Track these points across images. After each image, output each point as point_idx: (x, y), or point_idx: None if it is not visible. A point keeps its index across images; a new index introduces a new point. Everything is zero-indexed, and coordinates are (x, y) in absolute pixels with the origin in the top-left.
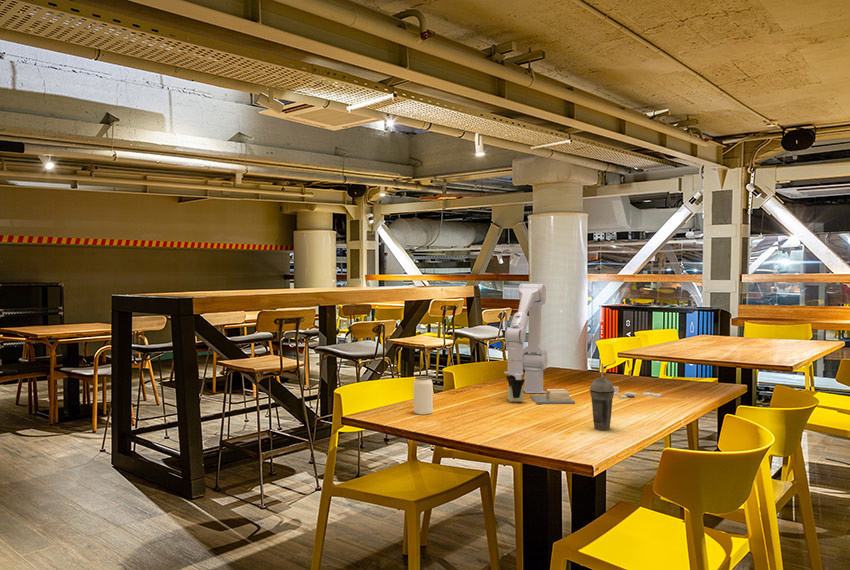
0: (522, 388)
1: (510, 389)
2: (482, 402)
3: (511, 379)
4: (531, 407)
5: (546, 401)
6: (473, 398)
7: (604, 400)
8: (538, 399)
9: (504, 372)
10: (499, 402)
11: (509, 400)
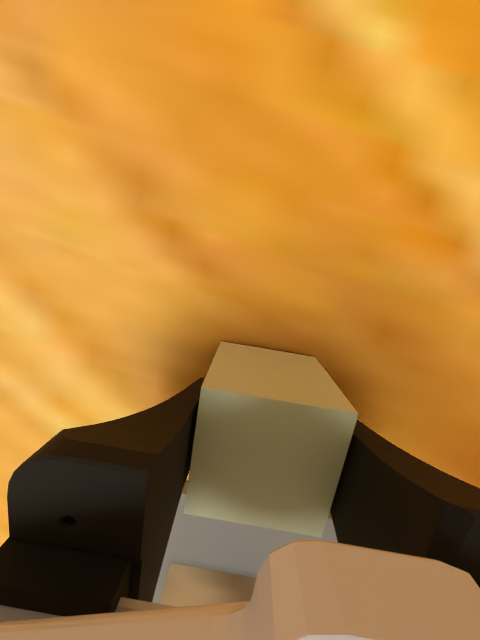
0: (185, 502)
1: (203, 387)
2: (260, 128)
3: (13, 478)
4: (54, 413)
5: None
6: (454, 90)
7: None
8: (211, 519)
9: (435, 608)
10: (234, 268)
11: (229, 344)
